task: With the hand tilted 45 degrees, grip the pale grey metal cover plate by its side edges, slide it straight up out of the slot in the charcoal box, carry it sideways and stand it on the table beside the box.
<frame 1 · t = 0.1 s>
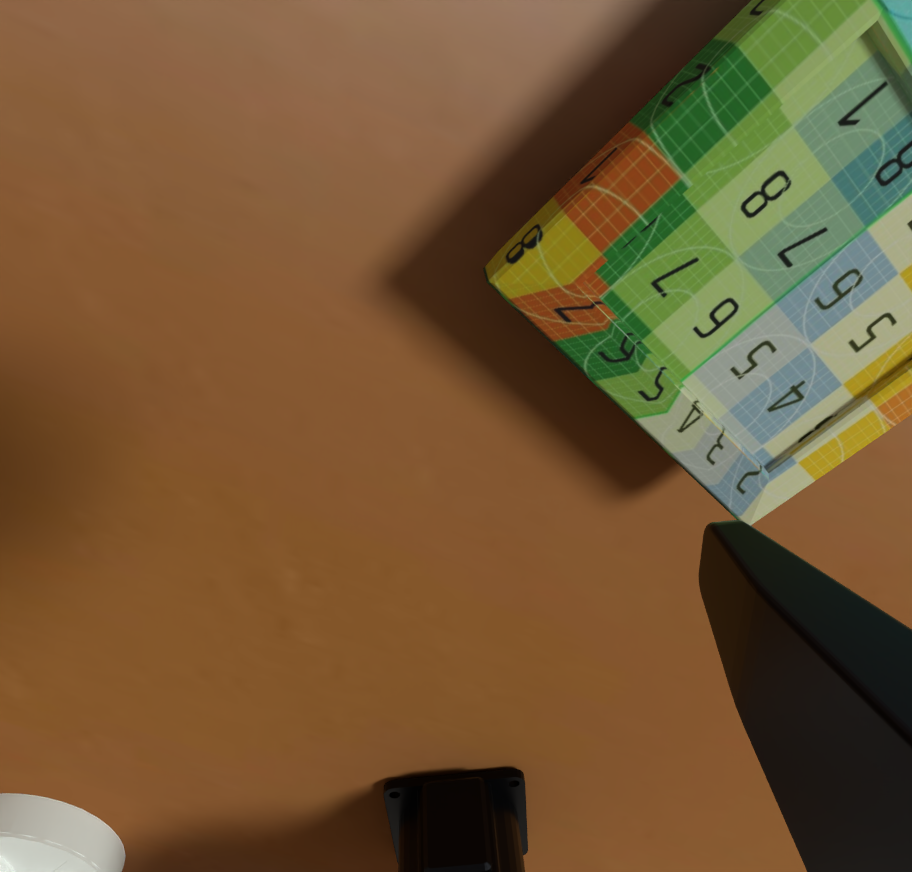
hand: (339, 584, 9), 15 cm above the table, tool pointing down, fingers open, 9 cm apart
puzzle game: (871, 124, 21), on the table
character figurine: (27, 848, 36), on the table
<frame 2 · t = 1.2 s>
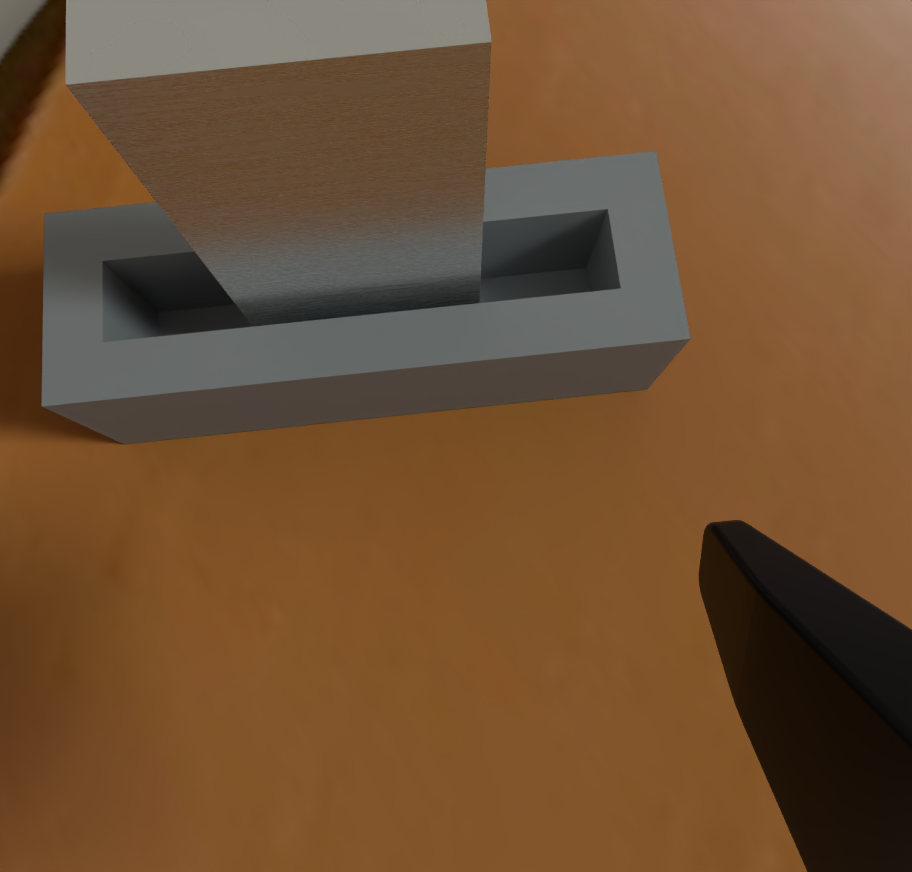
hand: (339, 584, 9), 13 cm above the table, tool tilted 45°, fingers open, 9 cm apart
cover plate: (375, 324, 22), point 1 cm above the table, touching slot box
slot box: (379, 336, 23), on the table
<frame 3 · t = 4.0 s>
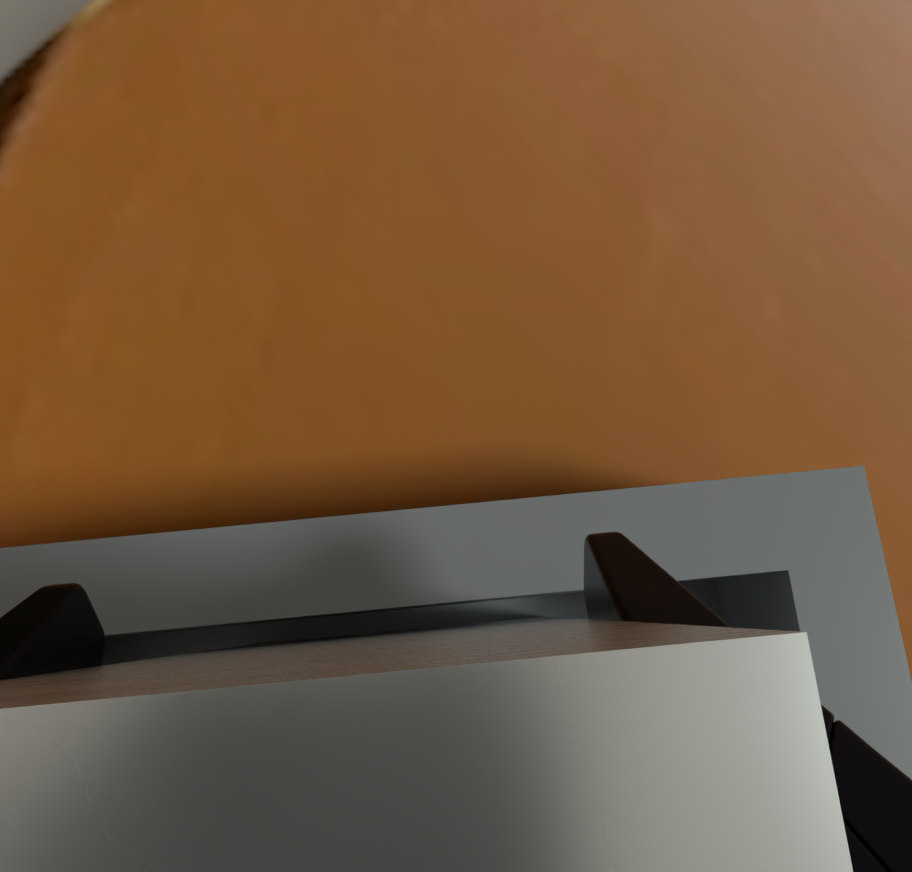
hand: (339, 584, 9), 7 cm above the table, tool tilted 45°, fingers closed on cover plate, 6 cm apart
cover plate: (396, 667, 15), point 1 cm above the table, touching gripper, slot box
slot box: (401, 664, 16), on the table
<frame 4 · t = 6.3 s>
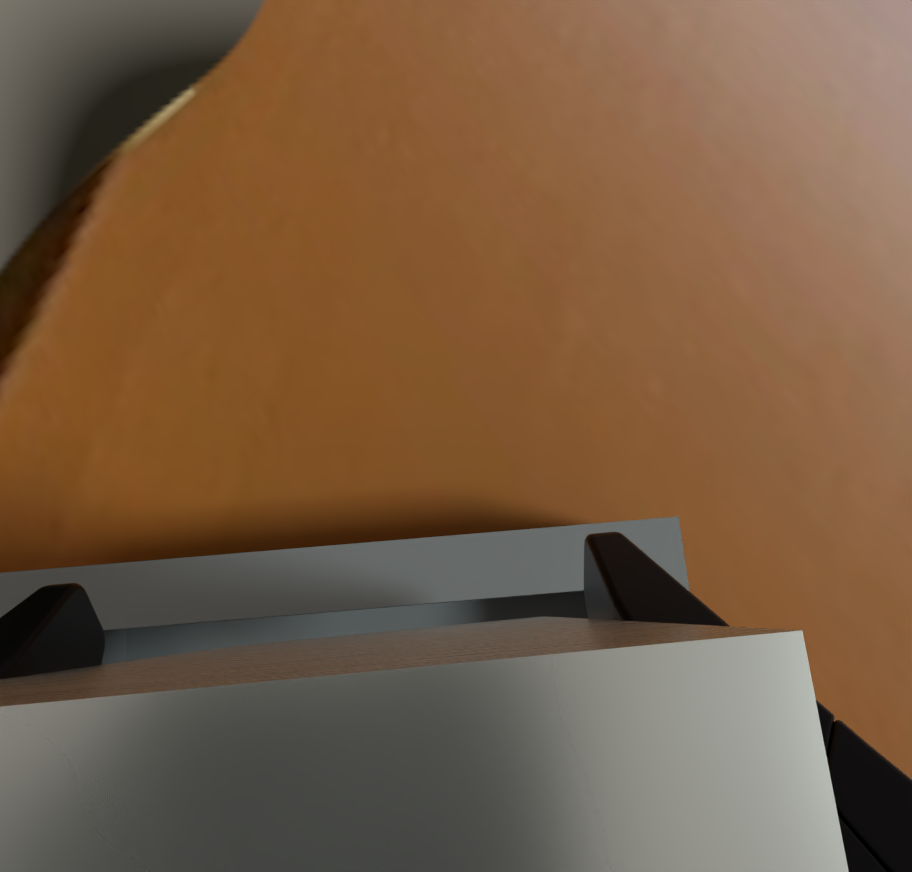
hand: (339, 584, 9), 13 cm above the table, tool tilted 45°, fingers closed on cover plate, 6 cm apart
cover plate: (395, 667, 15), point 7 cm above the table, touching gripper
slot box: (369, 649, 21), on the table
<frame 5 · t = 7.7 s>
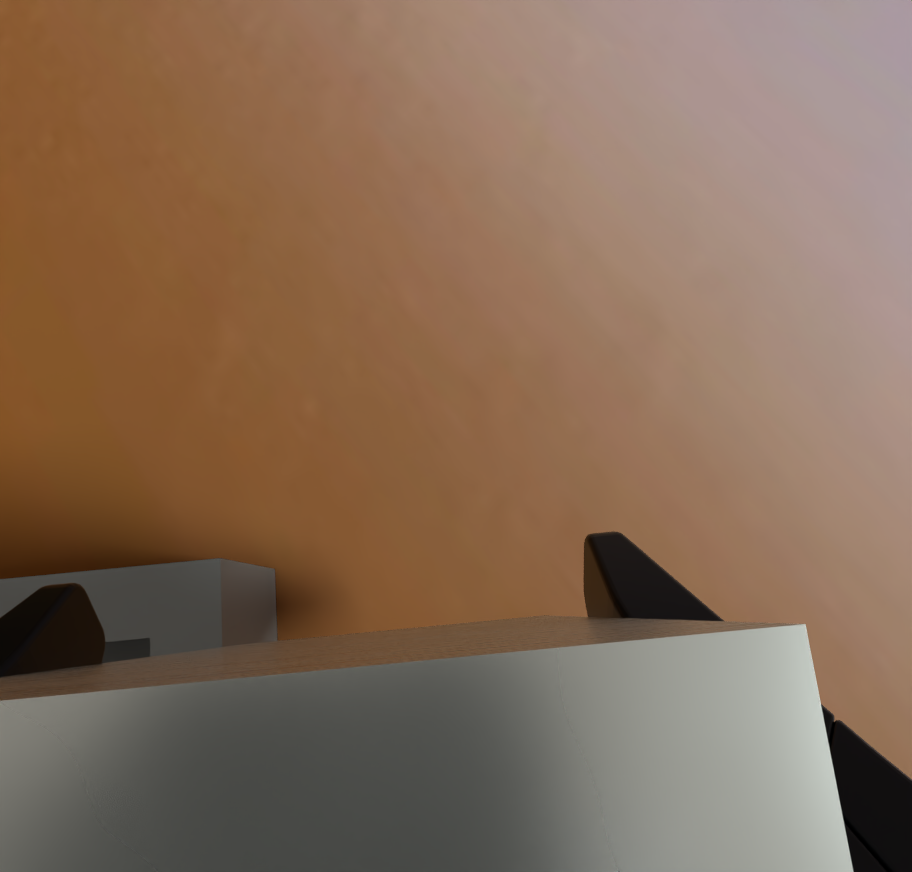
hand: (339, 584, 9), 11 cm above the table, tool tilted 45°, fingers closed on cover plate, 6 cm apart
cover plate: (396, 666, 15), point 5 cm above the table, touching gripper
when the fingers open (7 cm above the table, at t = 8.9 s): cover plate drops 1 cm, on the table.
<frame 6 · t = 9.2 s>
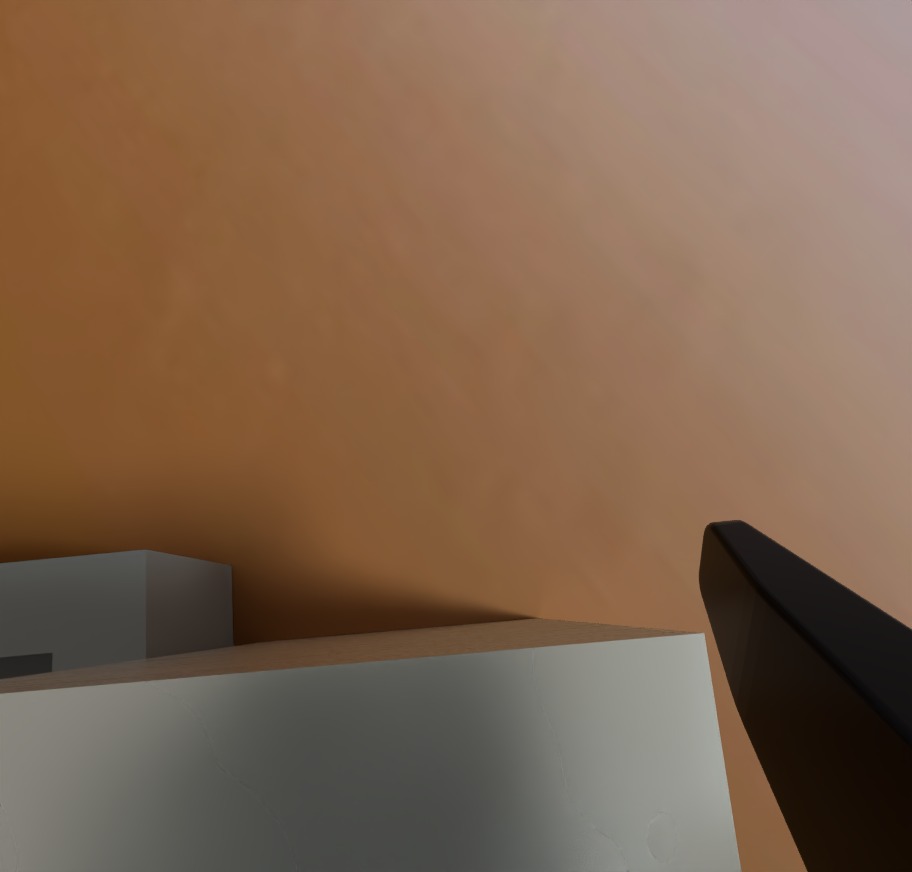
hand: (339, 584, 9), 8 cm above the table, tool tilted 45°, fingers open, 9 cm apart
cover plate: (403, 663, 16), on the table
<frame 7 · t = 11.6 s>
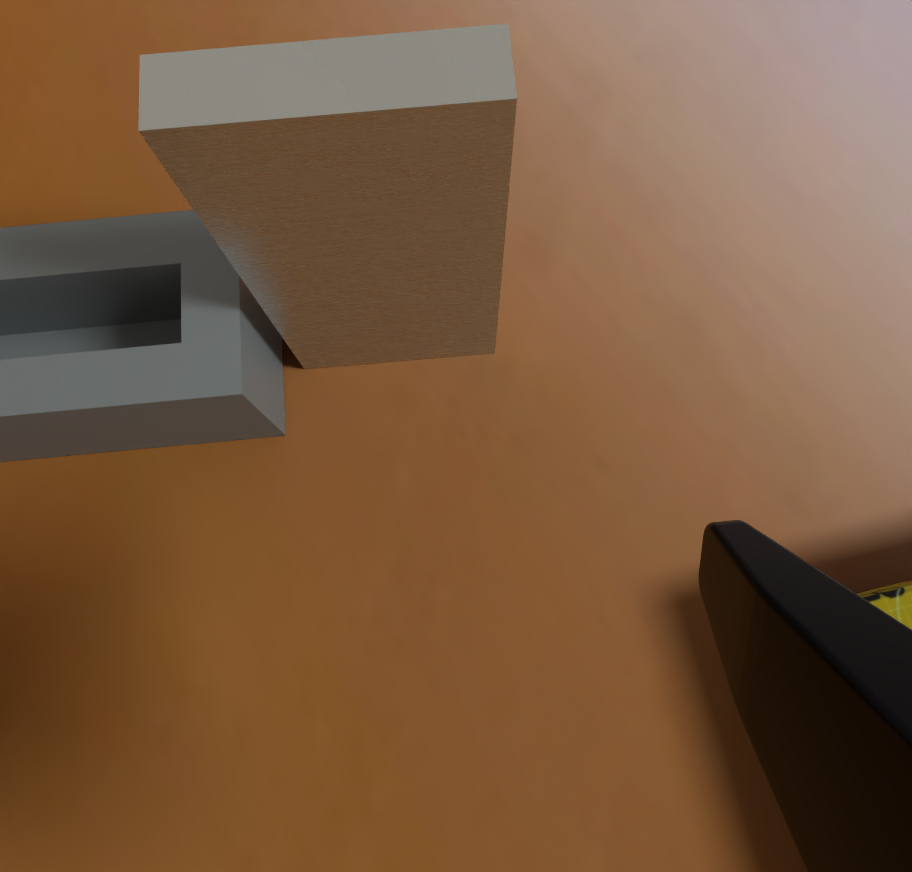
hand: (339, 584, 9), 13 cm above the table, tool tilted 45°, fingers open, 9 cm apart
cover plate: (398, 339, 24), on the table
slot box: (29, 378, 24), on the table
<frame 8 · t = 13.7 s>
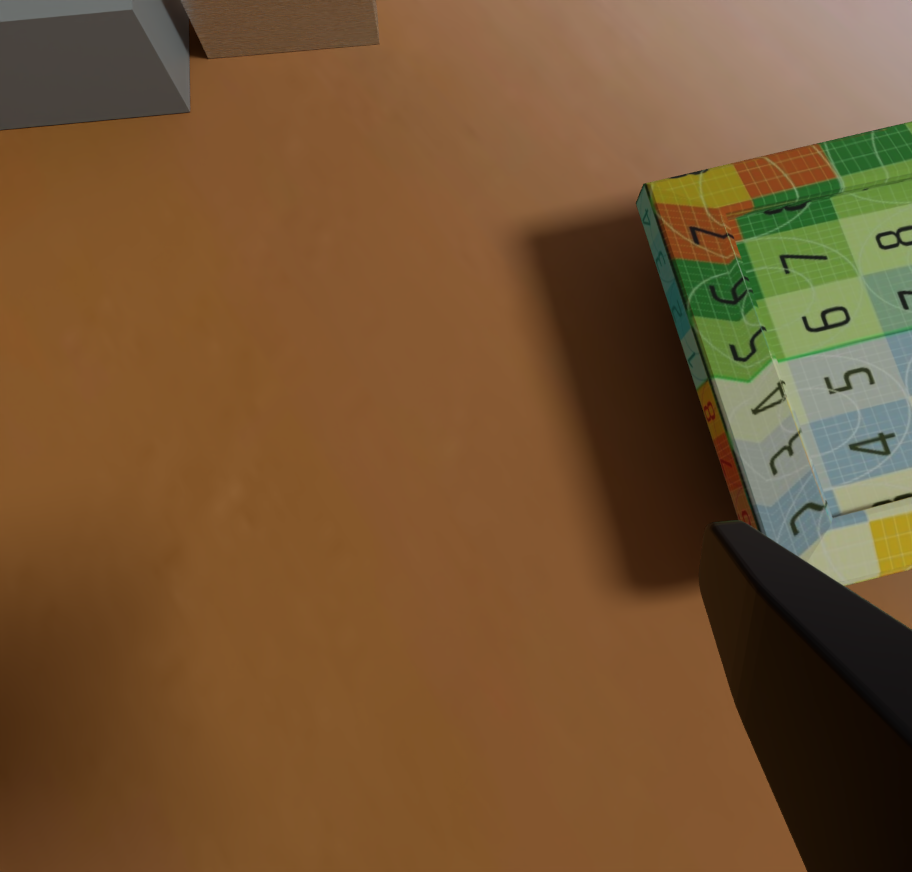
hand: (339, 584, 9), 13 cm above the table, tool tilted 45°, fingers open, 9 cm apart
cover plate: (293, 34, 26), on the table
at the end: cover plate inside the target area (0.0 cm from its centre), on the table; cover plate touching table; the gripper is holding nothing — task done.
